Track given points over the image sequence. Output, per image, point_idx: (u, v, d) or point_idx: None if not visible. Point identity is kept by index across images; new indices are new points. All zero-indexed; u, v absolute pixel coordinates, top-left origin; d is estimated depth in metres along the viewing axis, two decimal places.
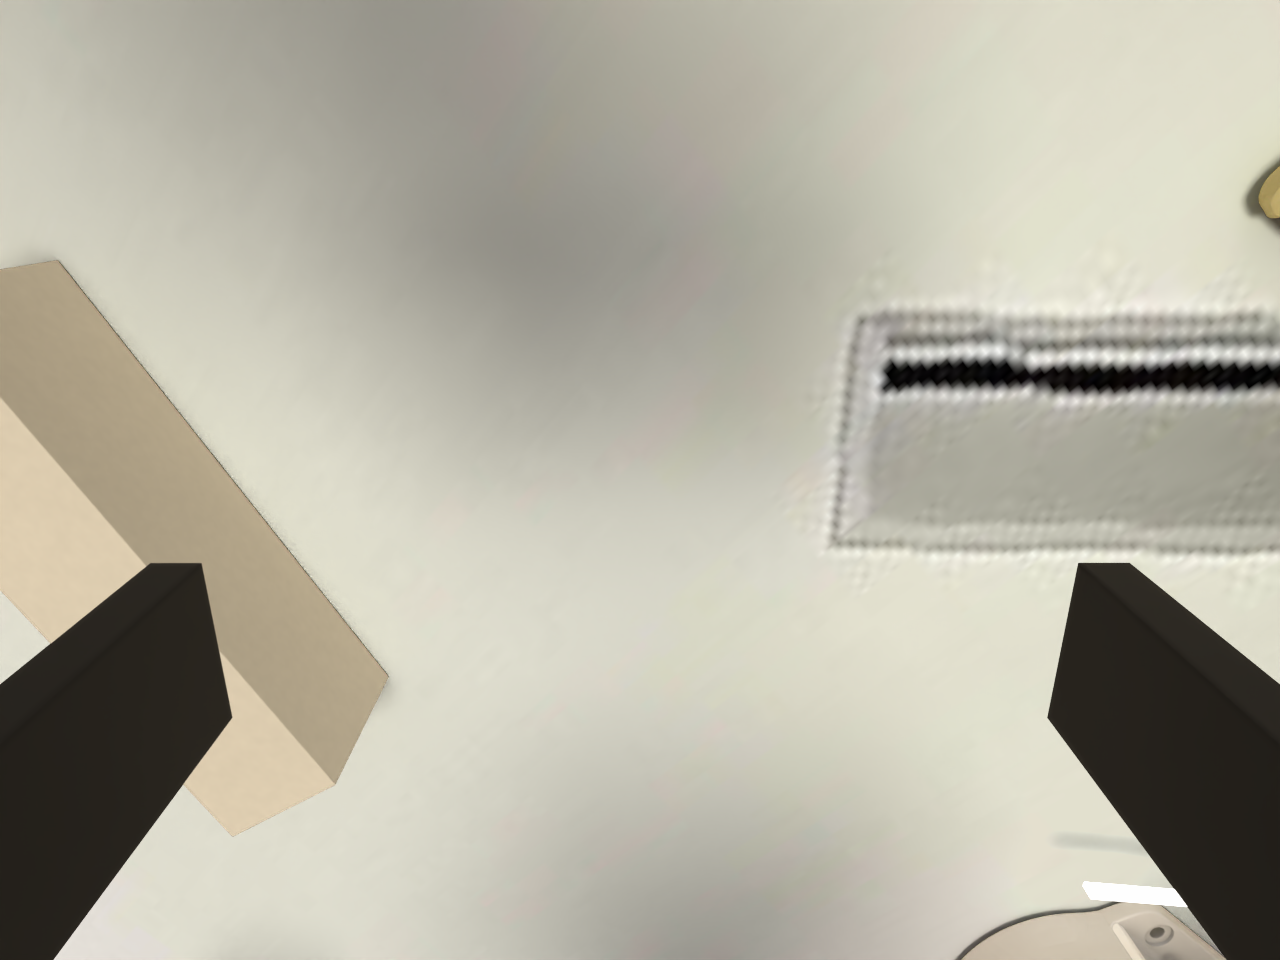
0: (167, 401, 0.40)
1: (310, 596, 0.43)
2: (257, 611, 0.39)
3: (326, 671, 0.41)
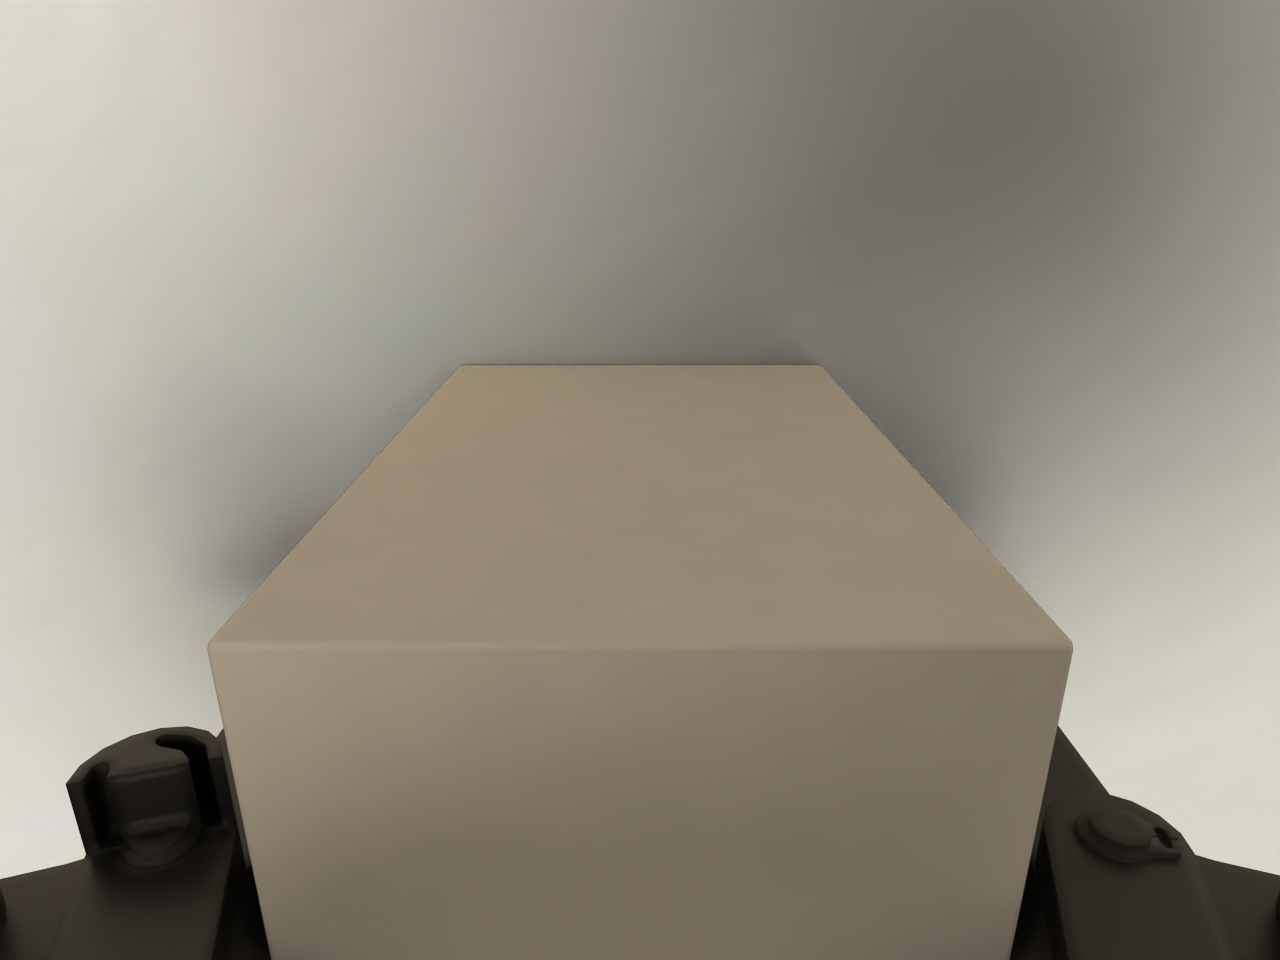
0: None
1: None
2: None
3: None
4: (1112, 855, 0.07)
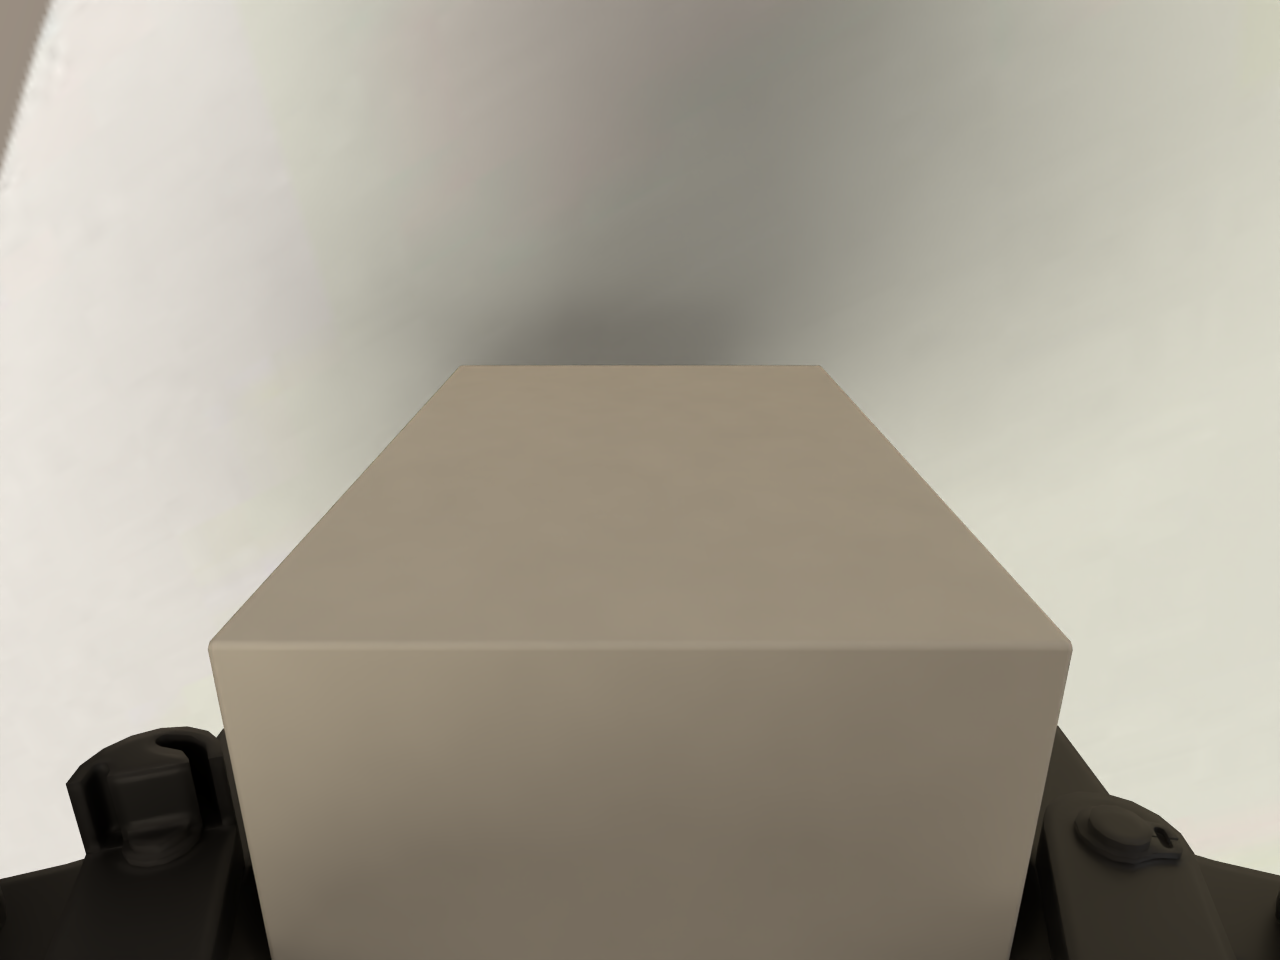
0: None
1: None
2: None
3: None
4: (1112, 855, 0.07)
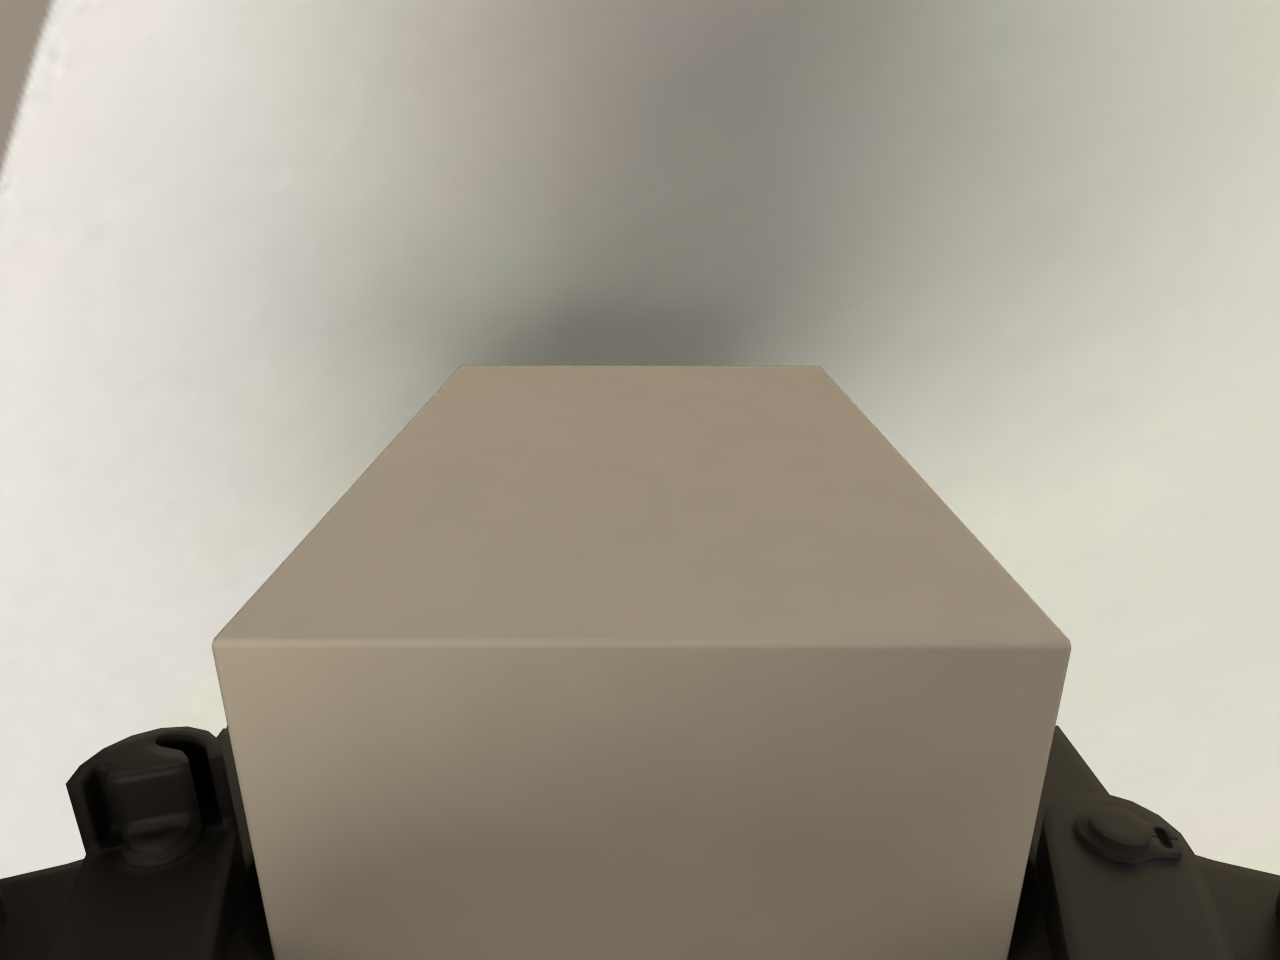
0: None
1: None
2: None
3: None
4: (1112, 855, 0.07)
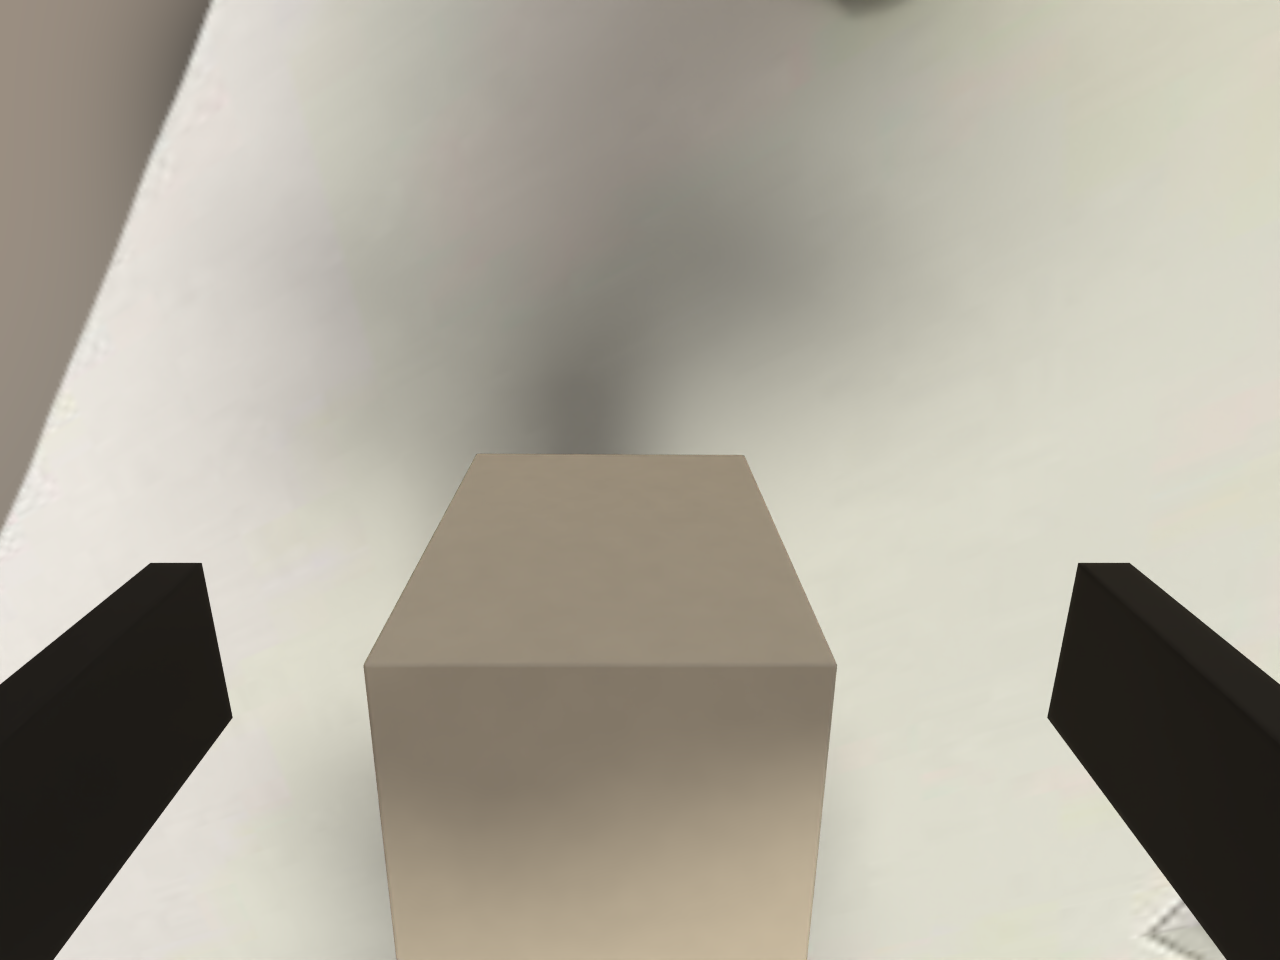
0: None
1: None
2: None
3: None
4: None
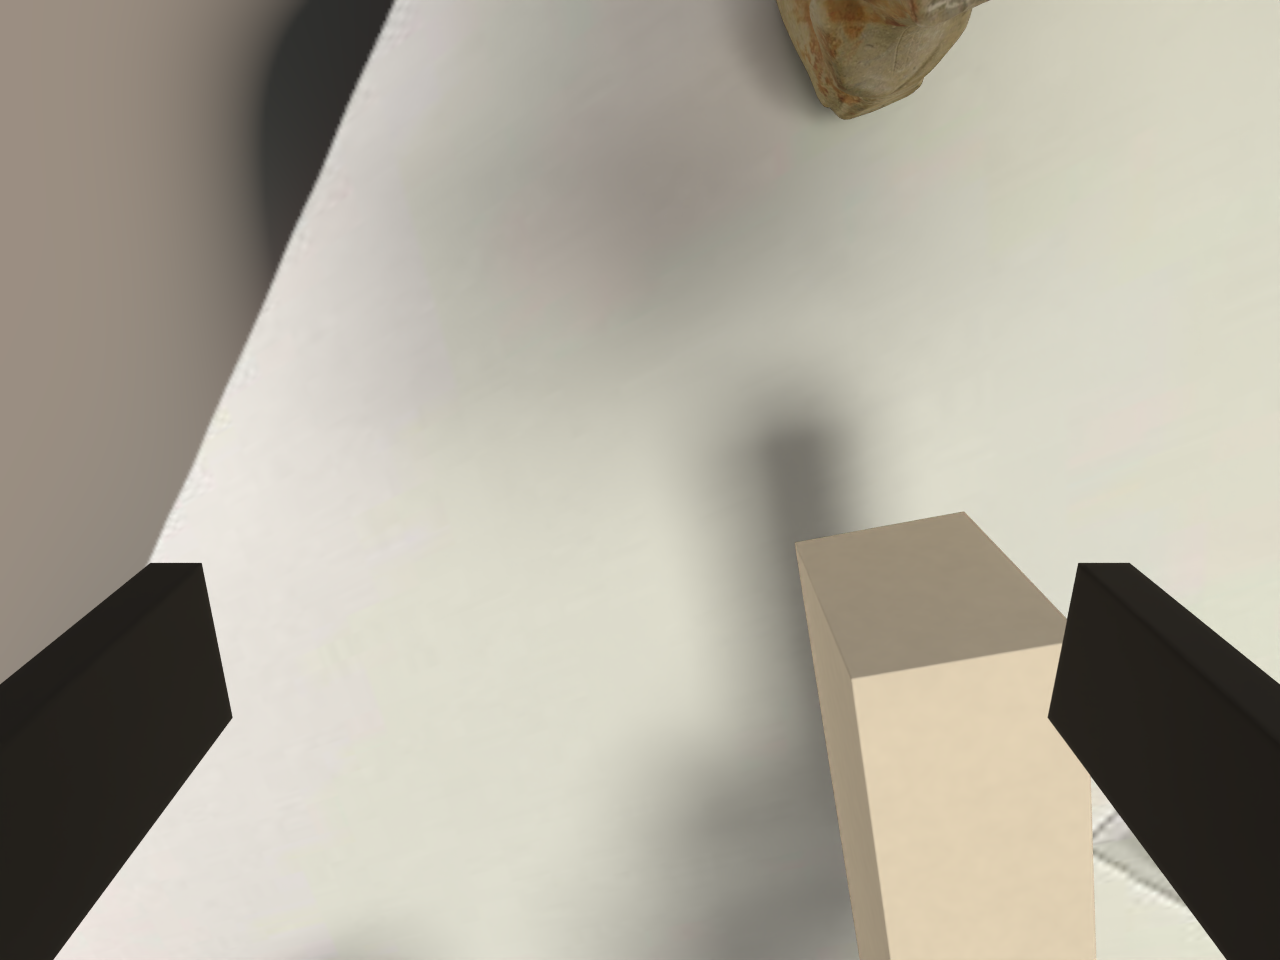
0: None
1: None
2: None
3: None
4: None
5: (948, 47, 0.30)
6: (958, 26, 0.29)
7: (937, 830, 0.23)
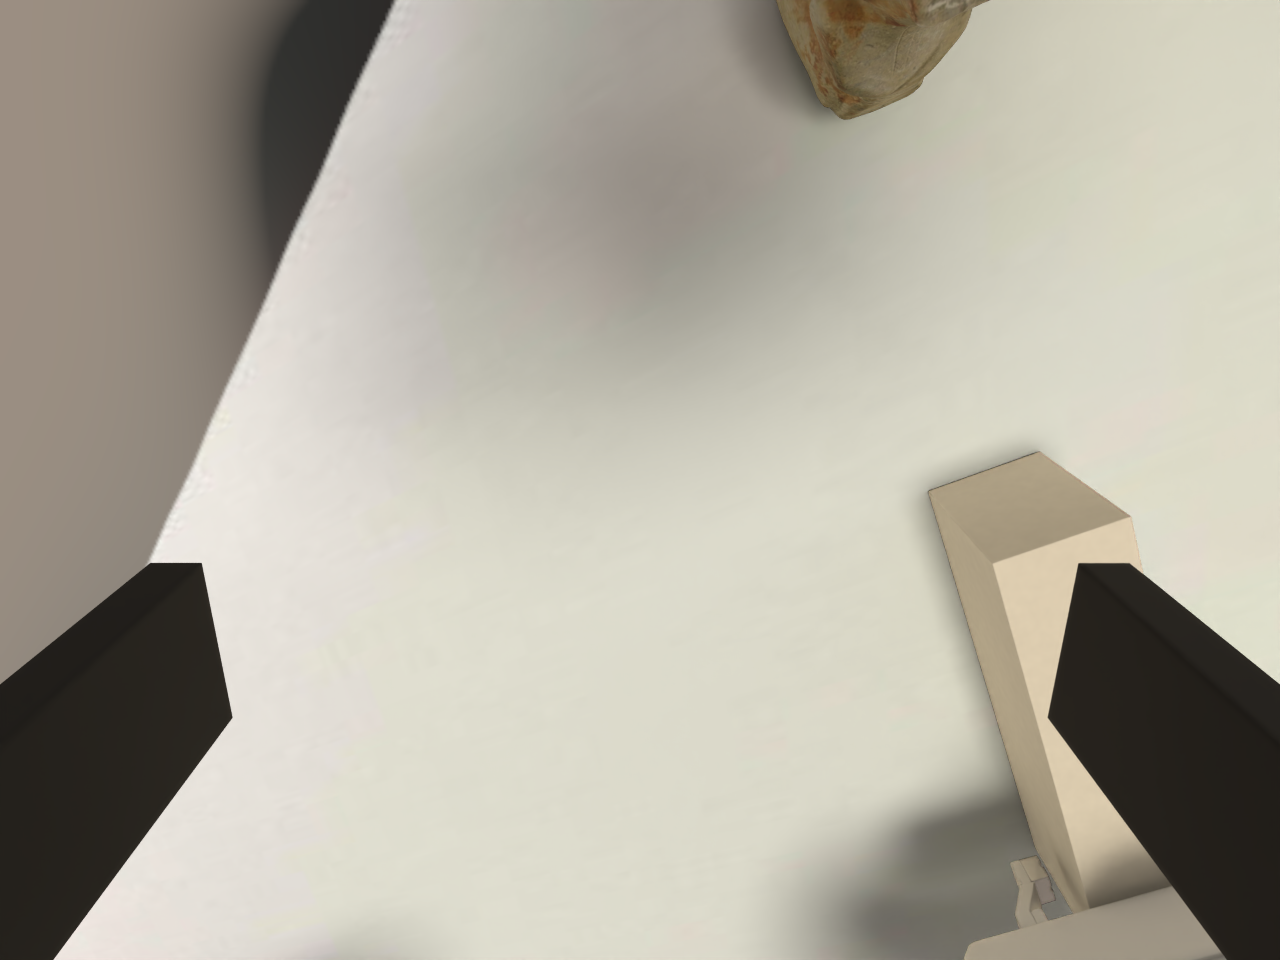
0: None
1: None
2: None
3: None
4: None
5: (948, 47, 0.30)
6: (958, 26, 0.29)
7: (1058, 650, 0.37)
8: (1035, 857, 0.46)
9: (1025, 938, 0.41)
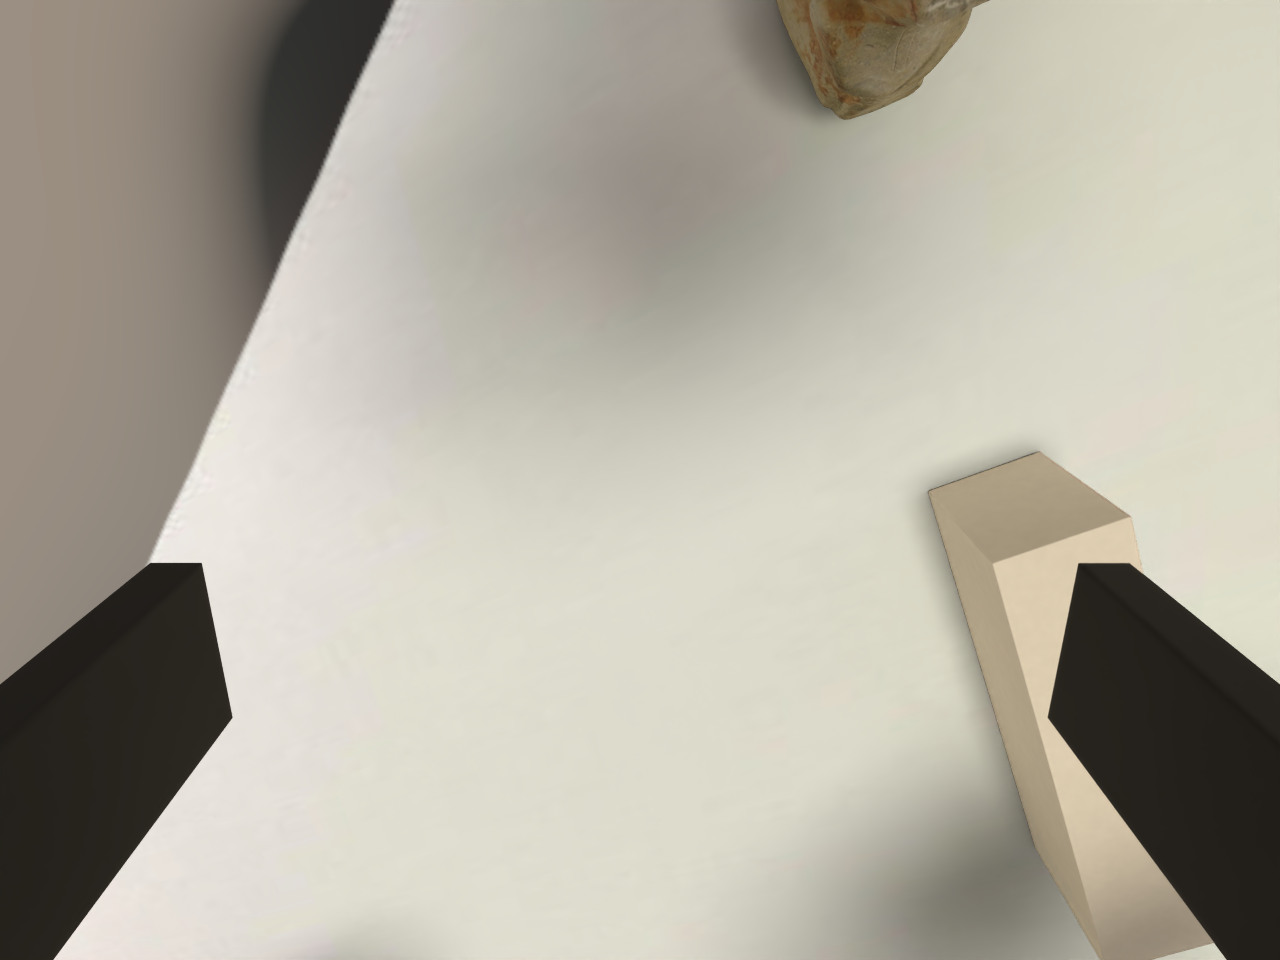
0: None
1: None
2: None
3: None
4: None
5: (948, 47, 0.30)
6: (958, 26, 0.29)
7: (1058, 650, 0.37)
8: None
9: None
